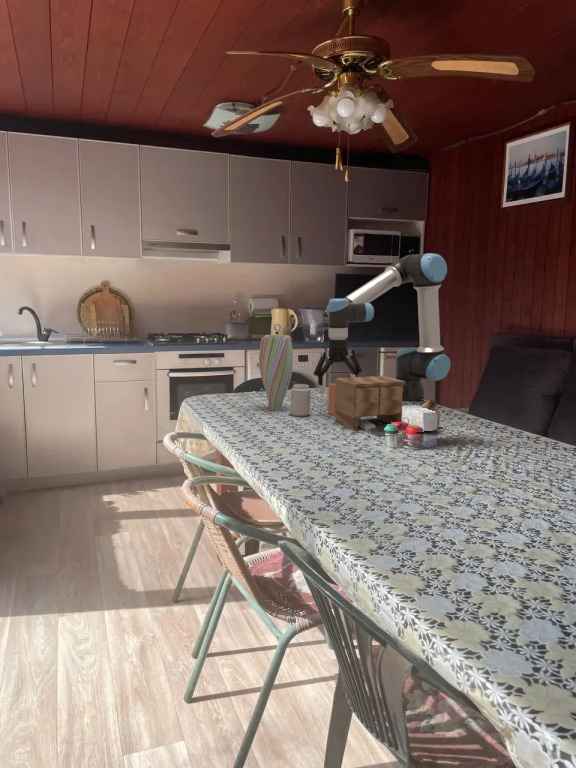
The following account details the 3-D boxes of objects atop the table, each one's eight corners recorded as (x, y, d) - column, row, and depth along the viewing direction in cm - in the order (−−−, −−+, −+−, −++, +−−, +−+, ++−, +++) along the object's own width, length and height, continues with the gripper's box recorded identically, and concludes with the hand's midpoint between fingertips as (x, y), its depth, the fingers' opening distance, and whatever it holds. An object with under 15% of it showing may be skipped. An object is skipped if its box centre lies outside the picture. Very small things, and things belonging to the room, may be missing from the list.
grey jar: (309, 417, 226) (310, 386, 224) (290, 416, 227) (291, 386, 225) (309, 413, 234) (310, 383, 232) (290, 412, 234) (291, 383, 232)
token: (384, 432, 207) (384, 426, 206) (393, 436, 201) (394, 430, 201) (369, 433, 204) (369, 428, 204) (378, 437, 199) (379, 432, 198)
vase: (289, 413, 233) (290, 337, 229) (255, 411, 236) (256, 336, 231) (294, 406, 247) (295, 335, 242) (262, 404, 249) (263, 334, 244)
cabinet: (382, 417, 228) (383, 375, 225) (404, 426, 214) (406, 382, 211) (333, 421, 220) (335, 378, 217) (353, 431, 206) (355, 384, 203)
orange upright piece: (328, 413, 234) (329, 383, 232) (339, 412, 236) (340, 383, 234) (364, 429, 208) (365, 396, 206) (376, 428, 210) (378, 395, 208)
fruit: (437, 435, 201) (440, 401, 200) (410, 433, 204) (412, 399, 202) (440, 429, 211) (442, 396, 209) (413, 426, 214) (415, 394, 212)
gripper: (361, 336, 237) (360, 387, 241) (305, 339, 227) (305, 392, 231) (370, 337, 230) (369, 390, 234) (313, 341, 221) (313, 396, 224)
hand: (337, 391), depth 232 cm, fingers open, 13 cm apart
